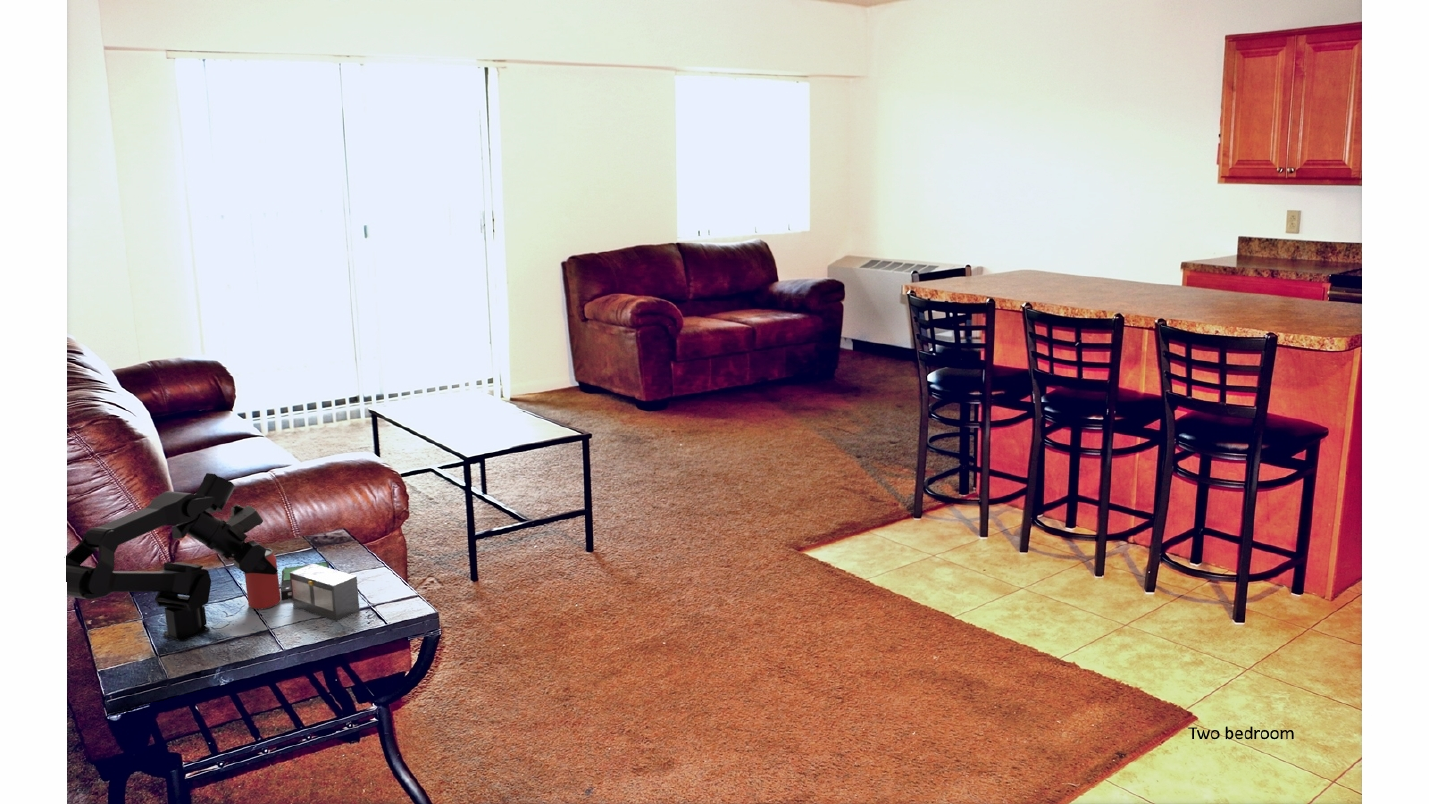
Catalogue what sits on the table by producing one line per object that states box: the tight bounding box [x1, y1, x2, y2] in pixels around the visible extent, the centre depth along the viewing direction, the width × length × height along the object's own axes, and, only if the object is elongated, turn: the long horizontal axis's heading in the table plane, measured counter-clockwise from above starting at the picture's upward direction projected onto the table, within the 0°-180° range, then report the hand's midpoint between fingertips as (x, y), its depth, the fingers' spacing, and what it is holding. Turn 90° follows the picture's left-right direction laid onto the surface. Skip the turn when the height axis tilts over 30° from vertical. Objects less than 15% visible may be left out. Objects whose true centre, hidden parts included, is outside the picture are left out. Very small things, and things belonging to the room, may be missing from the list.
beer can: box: [244, 547, 282, 610], centre depth 230 cm, size 7×7×12 cm
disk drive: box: [280, 561, 330, 601], centre depth 242 cm, size 10×3×15 cm
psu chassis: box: [290, 563, 361, 622], centre depth 228 cm, size 6×14×8 cm, turn 58°
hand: (268, 566), depth 231 cm, fingers open, 9 cm apart
